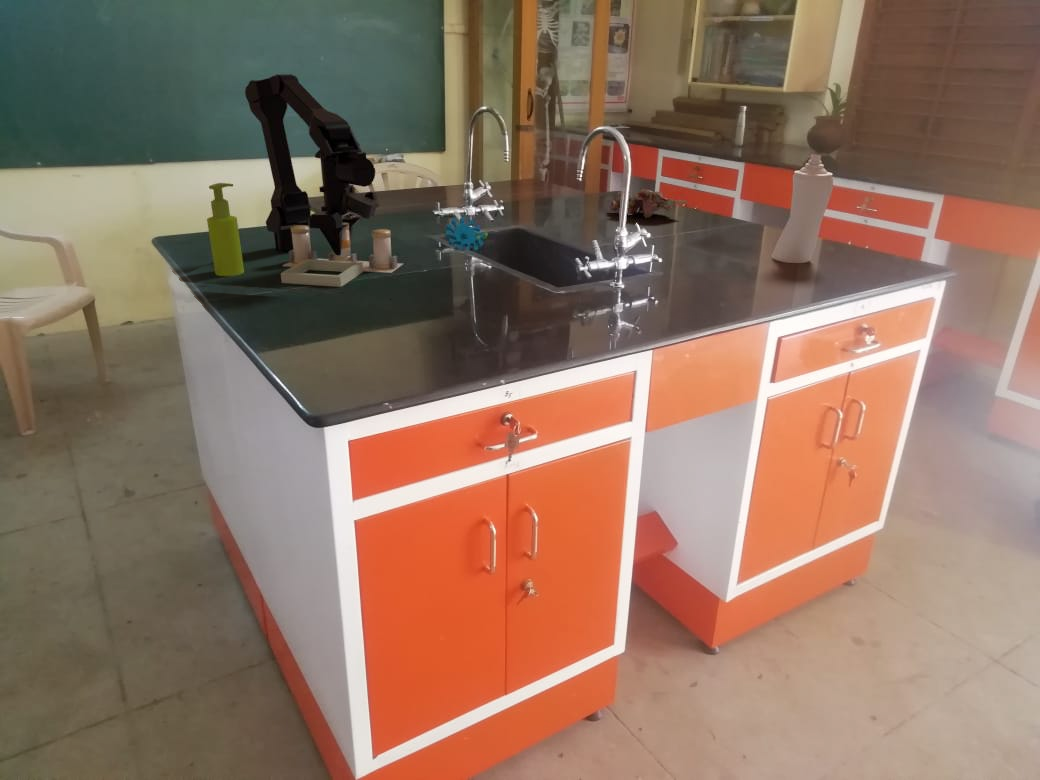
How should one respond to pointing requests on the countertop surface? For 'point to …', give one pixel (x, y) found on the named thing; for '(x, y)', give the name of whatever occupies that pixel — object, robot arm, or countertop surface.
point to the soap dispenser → (224, 236)
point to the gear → (465, 235)
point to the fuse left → (301, 243)
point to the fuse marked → (344, 246)
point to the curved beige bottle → (805, 212)
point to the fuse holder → (366, 265)
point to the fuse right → (382, 249)
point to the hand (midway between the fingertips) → (342, 253)
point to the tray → (300, 277)
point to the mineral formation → (645, 203)
